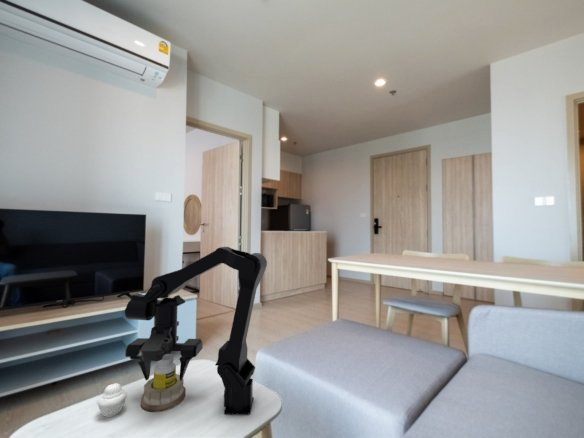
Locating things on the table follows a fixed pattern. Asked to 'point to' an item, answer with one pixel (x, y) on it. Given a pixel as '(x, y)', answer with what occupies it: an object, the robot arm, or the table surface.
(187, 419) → the table surface
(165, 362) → the supplement bottle
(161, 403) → the stone fire pit
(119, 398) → the muffin
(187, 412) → the table surface
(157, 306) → the robot arm
